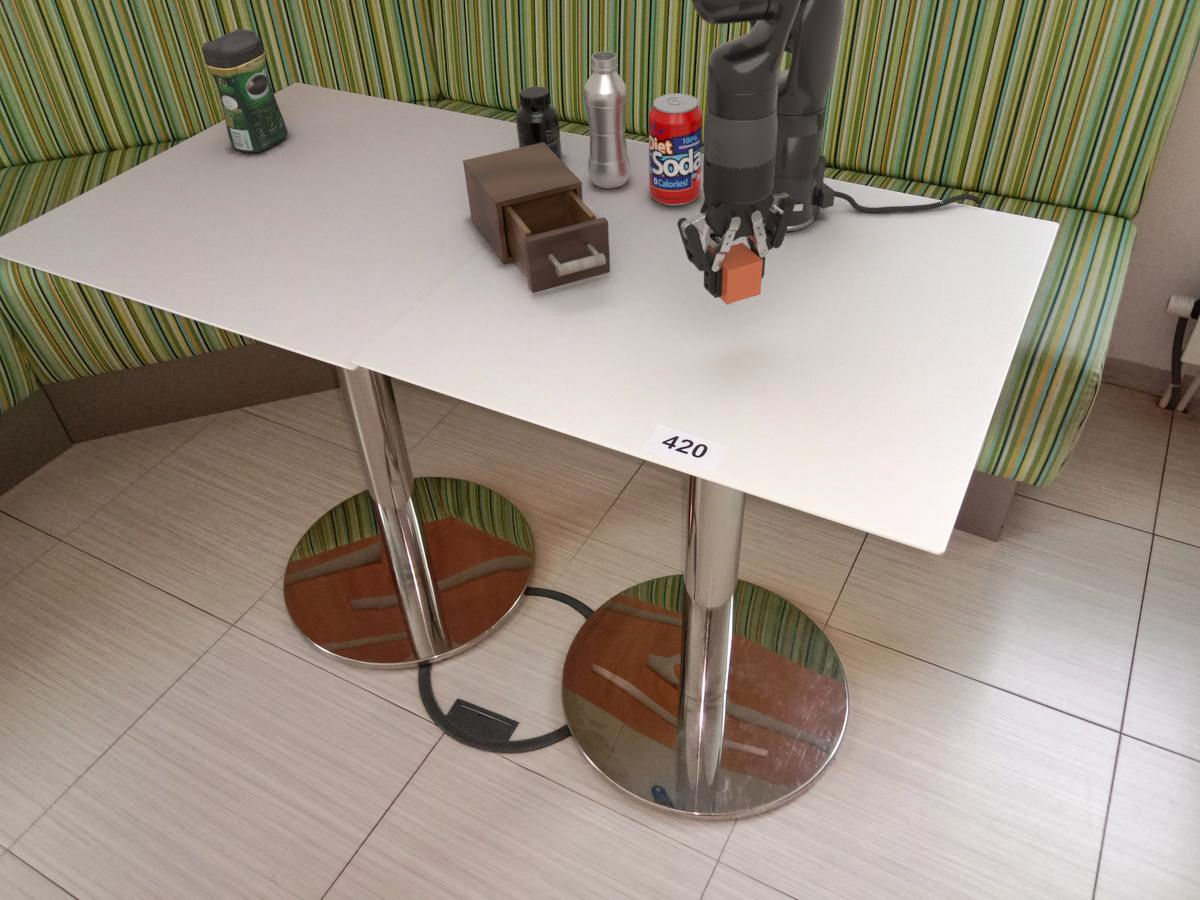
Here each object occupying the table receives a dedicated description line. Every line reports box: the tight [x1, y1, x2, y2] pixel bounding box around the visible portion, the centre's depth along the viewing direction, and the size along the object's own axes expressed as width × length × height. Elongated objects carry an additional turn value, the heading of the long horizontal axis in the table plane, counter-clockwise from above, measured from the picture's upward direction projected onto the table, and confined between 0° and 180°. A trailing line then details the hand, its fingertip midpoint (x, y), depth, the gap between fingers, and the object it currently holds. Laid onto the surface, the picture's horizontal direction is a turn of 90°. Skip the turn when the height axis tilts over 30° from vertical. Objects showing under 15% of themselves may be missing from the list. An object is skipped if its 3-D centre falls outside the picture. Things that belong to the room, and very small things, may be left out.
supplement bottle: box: [515, 85, 563, 162], centre depth 156 cm, size 7×7×12 cm
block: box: [718, 242, 763, 305], centre depth 111 cm, size 4×4×4 cm
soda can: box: [648, 93, 704, 207], centre depth 144 cm, size 8×8×15 cm
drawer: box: [502, 190, 611, 294], centre depth 131 cm, size 18×11×8 cm, turn 24°
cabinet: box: [462, 142, 584, 265], centre depth 140 cm, size 15×13×10 cm
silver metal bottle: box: [582, 50, 632, 189], centre depth 147 cm, size 6×7×20 cm
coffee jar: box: [201, 28, 288, 154], centre depth 165 cm, size 10×8×19 cm
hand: (733, 287), depth 112 cm, fingers closed on block, 4 cm apart
